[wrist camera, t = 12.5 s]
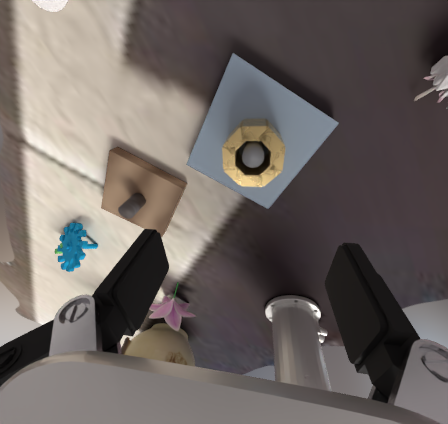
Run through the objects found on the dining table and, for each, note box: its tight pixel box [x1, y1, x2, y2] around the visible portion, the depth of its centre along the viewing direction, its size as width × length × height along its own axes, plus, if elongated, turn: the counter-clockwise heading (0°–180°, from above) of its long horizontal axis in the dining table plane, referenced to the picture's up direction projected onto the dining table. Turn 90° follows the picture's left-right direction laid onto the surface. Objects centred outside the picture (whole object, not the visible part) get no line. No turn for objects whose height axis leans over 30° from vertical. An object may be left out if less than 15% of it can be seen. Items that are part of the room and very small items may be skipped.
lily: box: [149, 282, 196, 331], centre depth 47 cm, size 12×12×10 cm
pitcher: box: [121, 323, 195, 367], centre depth 54 cm, size 22×24×25 cm
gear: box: [55, 223, 98, 272], centre depth 42 cm, size 11×6×10 cm
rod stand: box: [101, 147, 187, 237], centre depth 32 cm, size 12×12×6 cm
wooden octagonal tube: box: [222, 118, 286, 187], centre depth 23 cm, size 7×7×5 cm
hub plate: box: [186, 53, 339, 209], centre depth 24 cm, size 14×14×6 cm
